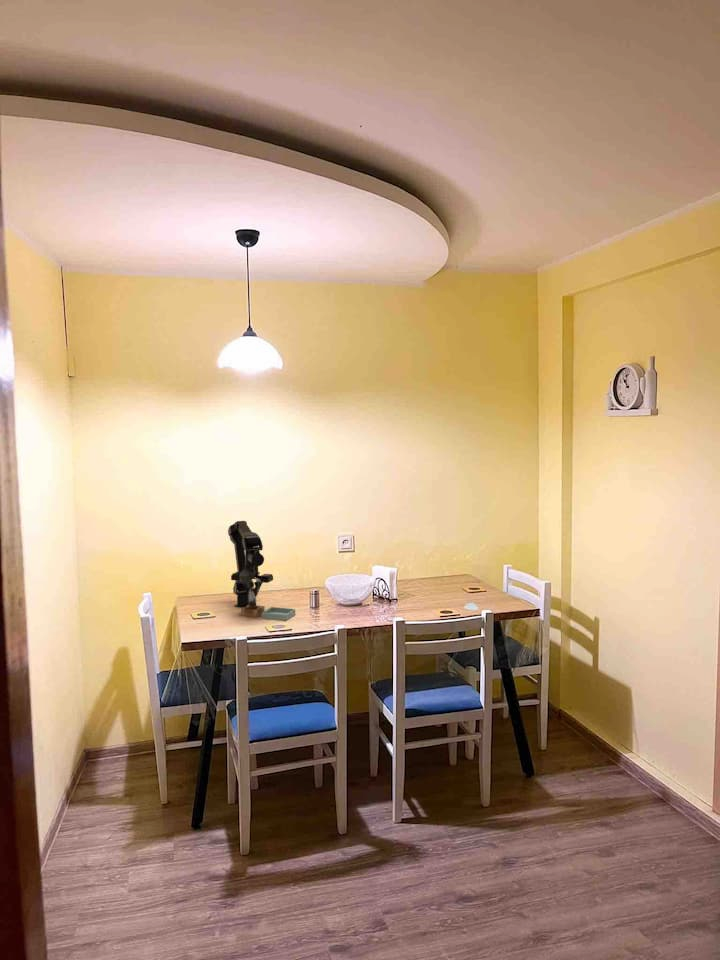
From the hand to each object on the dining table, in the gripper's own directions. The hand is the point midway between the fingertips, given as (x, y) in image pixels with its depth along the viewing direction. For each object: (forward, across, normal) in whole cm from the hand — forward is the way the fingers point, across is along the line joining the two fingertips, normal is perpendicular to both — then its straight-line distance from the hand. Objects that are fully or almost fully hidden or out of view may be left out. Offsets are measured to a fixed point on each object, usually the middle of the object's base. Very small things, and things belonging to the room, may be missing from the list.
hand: (252, 595), depth 300 cm
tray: (+9, +13, 0) cm, 16 cm away
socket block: (+9, 0, 0) cm, 9 cm away
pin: (+5, 0, 0) cm, 5 cm away
